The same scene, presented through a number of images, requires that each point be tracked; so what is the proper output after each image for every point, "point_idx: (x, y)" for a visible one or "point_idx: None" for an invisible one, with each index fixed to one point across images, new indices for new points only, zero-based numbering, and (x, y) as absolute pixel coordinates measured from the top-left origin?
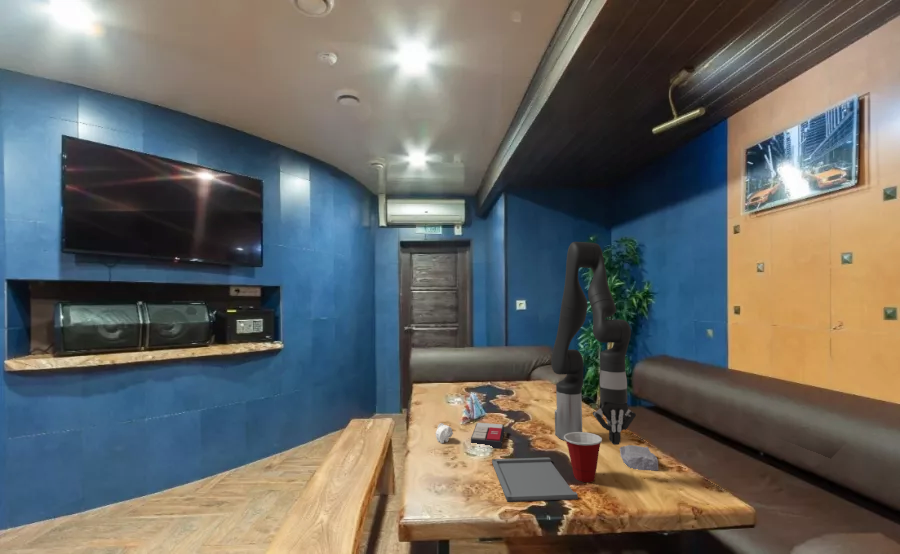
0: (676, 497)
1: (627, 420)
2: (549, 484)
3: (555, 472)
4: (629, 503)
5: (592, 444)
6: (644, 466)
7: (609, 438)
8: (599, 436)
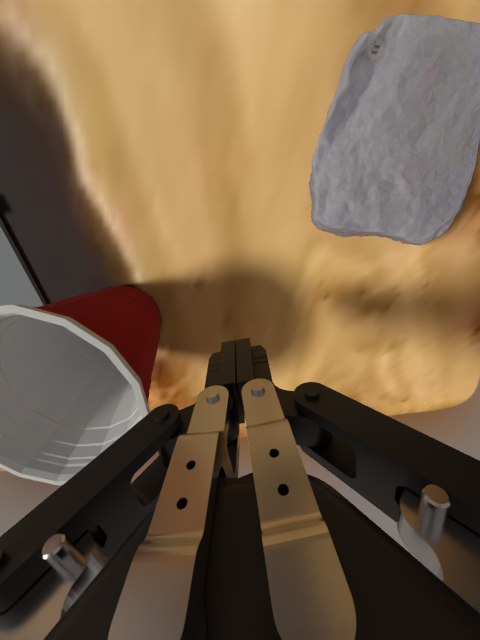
0: (351, 384)
1: (366, 496)
2: None
3: (29, 302)
4: None
5: None
6: (370, 235)
7: (209, 366)
8: (140, 397)
